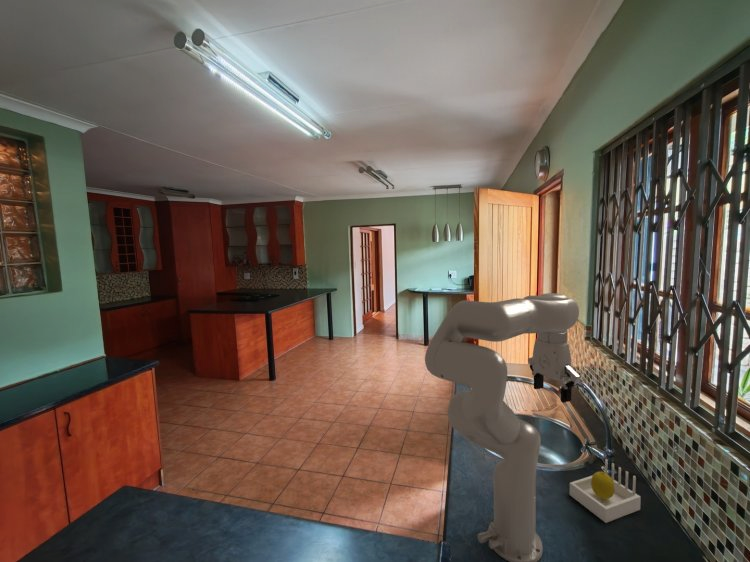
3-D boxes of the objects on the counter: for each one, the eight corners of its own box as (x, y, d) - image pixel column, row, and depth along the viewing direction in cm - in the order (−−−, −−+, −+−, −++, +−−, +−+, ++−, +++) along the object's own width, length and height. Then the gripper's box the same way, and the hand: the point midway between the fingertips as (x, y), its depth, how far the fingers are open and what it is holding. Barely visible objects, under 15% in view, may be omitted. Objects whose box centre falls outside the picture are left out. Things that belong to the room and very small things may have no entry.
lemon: (618, 507, 92) (618, 479, 92) (595, 504, 93) (596, 477, 93) (608, 493, 98) (609, 467, 97) (587, 490, 99) (588, 465, 98)
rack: (605, 522, 88) (606, 491, 87) (569, 494, 98) (570, 466, 98) (640, 509, 92) (641, 479, 91) (602, 484, 103) (602, 456, 102)
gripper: (519, 331, 103) (519, 385, 104) (568, 345, 86) (567, 409, 88) (539, 329, 105) (538, 382, 106) (589, 342, 89) (588, 404, 90)
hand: (551, 394), depth 97 cm, fingers open, 9 cm apart
